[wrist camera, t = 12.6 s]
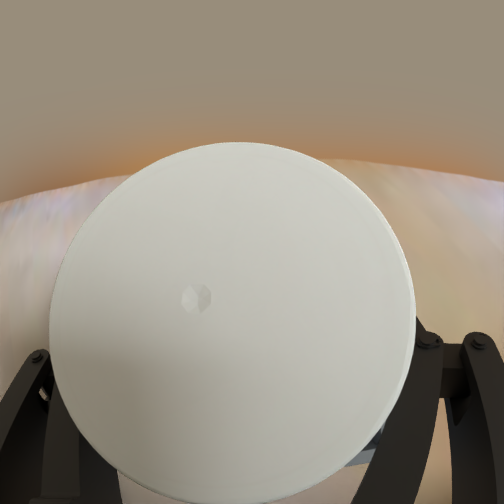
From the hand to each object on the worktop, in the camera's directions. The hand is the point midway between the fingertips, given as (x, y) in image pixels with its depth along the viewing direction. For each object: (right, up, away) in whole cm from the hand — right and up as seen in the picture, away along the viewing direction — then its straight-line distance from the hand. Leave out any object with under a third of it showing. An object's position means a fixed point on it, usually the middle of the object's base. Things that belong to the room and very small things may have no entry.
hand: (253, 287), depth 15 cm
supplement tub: (+1, -5, +4) cm, 7 cm away
